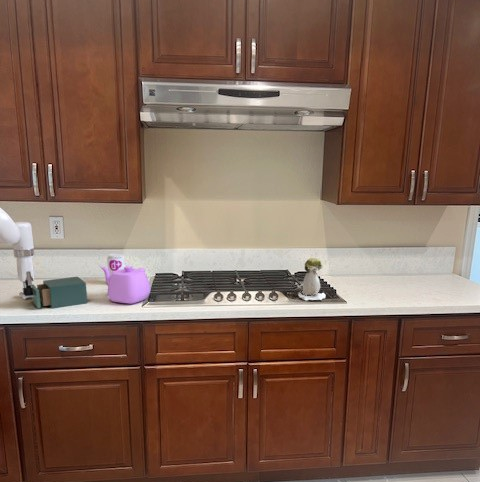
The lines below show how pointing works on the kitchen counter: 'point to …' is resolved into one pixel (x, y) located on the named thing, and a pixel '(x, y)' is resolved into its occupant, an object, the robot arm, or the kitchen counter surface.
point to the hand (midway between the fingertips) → (28, 296)
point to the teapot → (127, 285)
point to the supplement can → (115, 262)
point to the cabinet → (66, 291)
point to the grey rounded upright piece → (312, 281)
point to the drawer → (39, 295)
